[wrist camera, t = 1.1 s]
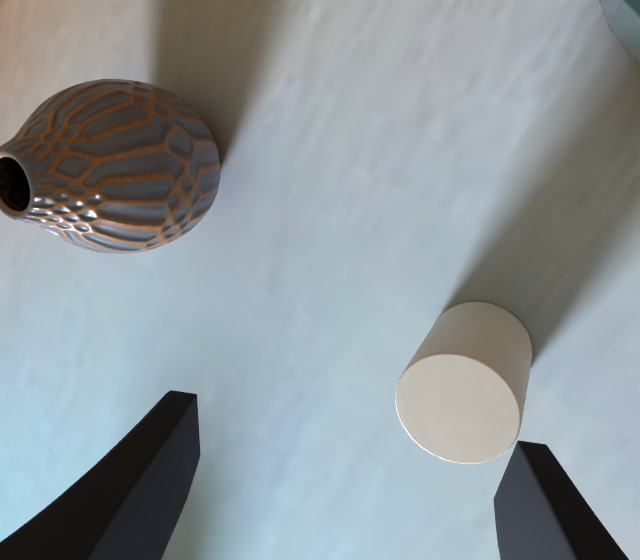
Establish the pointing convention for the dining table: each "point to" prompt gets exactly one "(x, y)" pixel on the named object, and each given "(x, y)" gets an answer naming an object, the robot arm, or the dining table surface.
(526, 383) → the candle
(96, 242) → the vase
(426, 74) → the dining table surface
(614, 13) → the dark green bowl
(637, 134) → the dining table surface
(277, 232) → the dining table surface
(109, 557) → the robot arm
